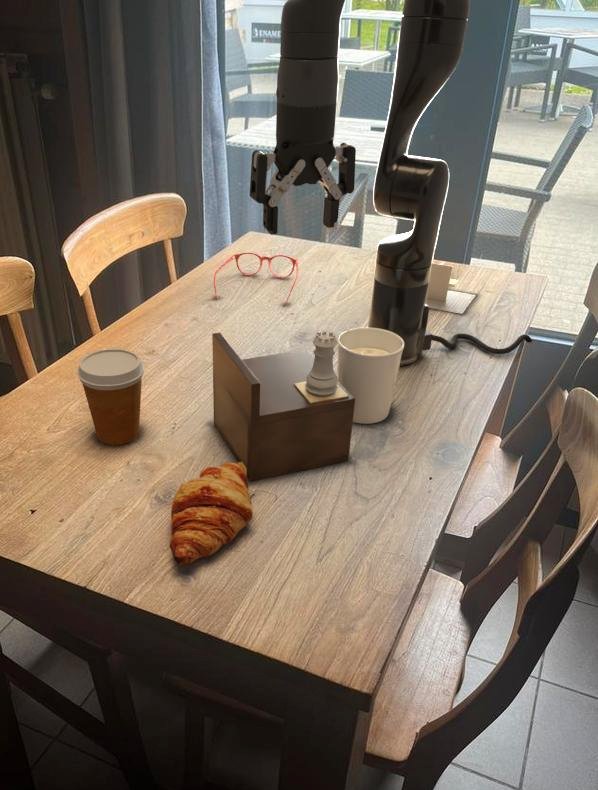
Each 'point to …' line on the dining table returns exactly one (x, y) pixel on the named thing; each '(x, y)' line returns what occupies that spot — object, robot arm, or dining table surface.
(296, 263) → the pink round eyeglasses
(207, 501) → the croissant
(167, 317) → the dining table surface
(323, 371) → the rook chess piece
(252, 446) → the walnut shelf
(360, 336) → the candle holder
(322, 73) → the robot arm
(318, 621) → the dining table surface
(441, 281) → the architectural model
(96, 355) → the disposable coffee cup
